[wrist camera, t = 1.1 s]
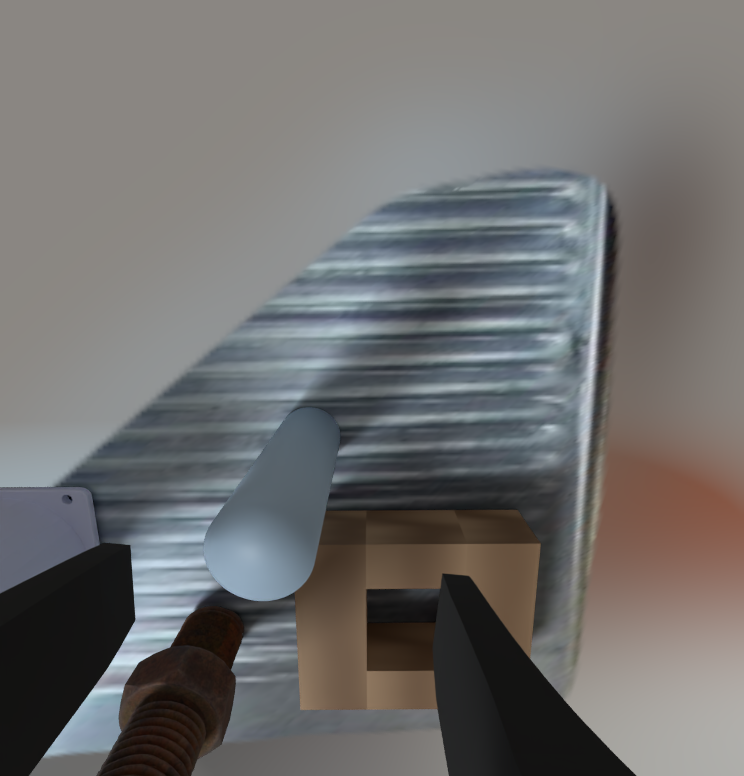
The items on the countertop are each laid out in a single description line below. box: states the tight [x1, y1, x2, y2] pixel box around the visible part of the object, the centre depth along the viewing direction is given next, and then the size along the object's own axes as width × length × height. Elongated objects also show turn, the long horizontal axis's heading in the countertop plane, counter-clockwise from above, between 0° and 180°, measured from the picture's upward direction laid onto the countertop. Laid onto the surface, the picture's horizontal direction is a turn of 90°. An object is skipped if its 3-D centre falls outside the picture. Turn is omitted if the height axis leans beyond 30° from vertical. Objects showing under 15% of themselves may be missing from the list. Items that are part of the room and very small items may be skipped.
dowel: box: [204, 407, 341, 601], centre depth 16 cm, size 3×3×10 cm
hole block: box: [295, 510, 541, 710], centre depth 21 cm, size 11×9×3 cm
